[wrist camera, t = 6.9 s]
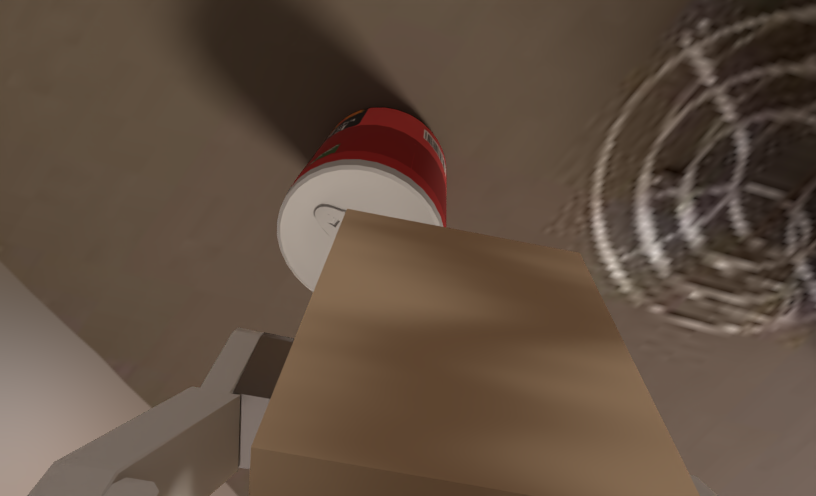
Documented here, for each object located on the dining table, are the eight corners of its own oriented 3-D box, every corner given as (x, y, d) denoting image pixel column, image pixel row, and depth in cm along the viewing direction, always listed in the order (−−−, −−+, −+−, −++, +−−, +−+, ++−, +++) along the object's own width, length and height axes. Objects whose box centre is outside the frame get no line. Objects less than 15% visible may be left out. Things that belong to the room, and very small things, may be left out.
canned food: (345, 84, 30) (296, 136, 21) (466, 132, 31) (474, 204, 22) (312, 192, 34) (258, 280, 24) (422, 233, 35) (411, 333, 25)
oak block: (579, 252, 11) (715, 526, 5) (513, 416, 13) (561, 716, 8) (347, 208, 10) (250, 446, 5) (323, 382, 13) (241, 666, 8)
